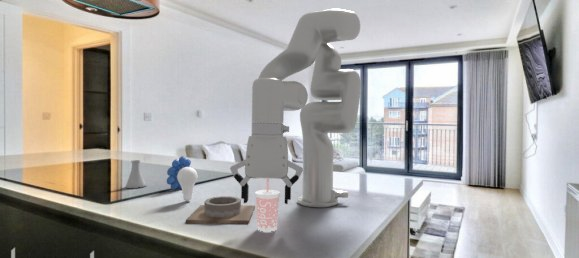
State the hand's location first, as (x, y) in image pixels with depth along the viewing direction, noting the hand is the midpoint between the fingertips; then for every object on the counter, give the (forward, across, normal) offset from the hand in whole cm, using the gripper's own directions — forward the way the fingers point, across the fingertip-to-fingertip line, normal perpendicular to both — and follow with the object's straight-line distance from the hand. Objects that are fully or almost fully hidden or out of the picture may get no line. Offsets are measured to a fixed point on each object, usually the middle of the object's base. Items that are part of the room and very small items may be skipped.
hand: (266, 202), depth 81 cm
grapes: (+6, +36, -44) cm, 57 cm away
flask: (+7, +53, -47) cm, 71 cm away
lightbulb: (+7, +27, -26) cm, 38 cm away
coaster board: (+7, +13, -12) cm, 18 cm away
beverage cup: (+7, 0, -1) cm, 7 cm away
